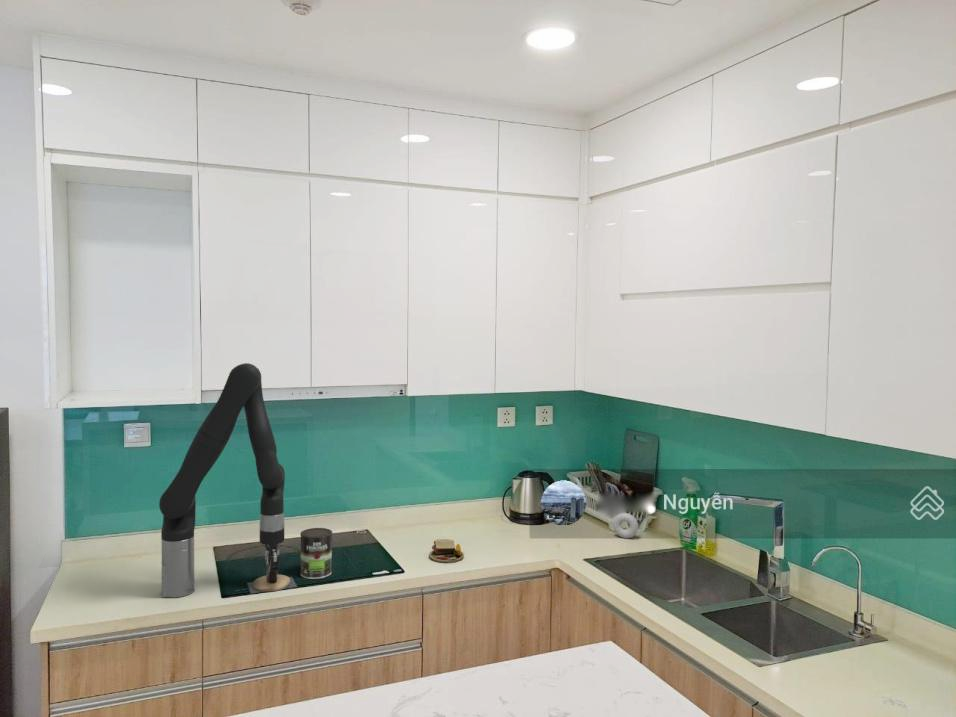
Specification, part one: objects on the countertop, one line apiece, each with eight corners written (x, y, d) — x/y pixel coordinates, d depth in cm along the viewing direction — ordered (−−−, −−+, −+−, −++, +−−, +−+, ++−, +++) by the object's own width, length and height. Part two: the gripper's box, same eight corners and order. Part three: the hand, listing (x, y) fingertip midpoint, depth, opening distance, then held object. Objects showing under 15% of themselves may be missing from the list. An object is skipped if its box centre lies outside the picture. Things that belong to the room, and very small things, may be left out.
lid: (256, 593, 211) (256, 577, 210) (251, 581, 220) (251, 565, 220) (292, 588, 215) (292, 572, 215) (286, 576, 225) (286, 560, 225)
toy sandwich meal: (428, 564, 240) (428, 550, 240) (429, 550, 254) (429, 538, 254) (464, 564, 241) (464, 550, 241) (463, 550, 255) (463, 538, 254)
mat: (250, 594, 211) (250, 593, 211) (247, 584, 219) (247, 582, 219) (297, 587, 217) (297, 586, 217) (291, 577, 225) (291, 576, 225)
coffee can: (333, 578, 225) (333, 536, 224) (300, 581, 222) (300, 538, 222) (331, 567, 235) (331, 526, 234) (299, 569, 232) (300, 528, 231)
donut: (611, 537, 273) (612, 512, 272) (613, 534, 276) (614, 510, 276) (636, 541, 269) (637, 515, 268) (638, 538, 272) (639, 513, 272)
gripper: (256, 522, 221) (256, 574, 223) (262, 534, 209) (262, 590, 210) (280, 519, 225) (280, 571, 226) (288, 532, 212) (288, 586, 213)
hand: (272, 580), depth 218 cm, fingers closed on lid, 3 cm apart
